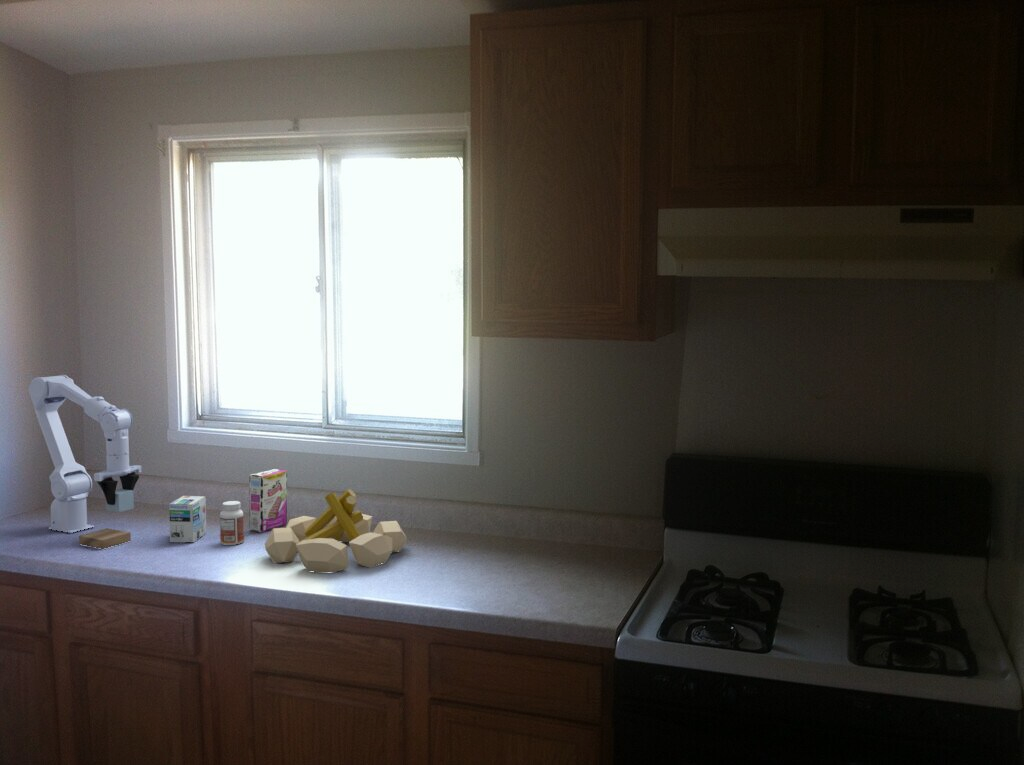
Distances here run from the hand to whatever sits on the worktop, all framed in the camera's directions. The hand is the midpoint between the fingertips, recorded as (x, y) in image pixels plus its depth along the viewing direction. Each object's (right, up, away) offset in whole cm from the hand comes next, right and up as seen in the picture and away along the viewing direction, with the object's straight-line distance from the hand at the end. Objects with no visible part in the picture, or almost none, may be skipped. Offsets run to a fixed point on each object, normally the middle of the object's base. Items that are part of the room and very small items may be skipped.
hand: (119, 502), depth 260 cm
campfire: (+63, -12, -14) cm, 65 cm away
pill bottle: (+33, -11, -4) cm, 35 cm away
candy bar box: (+38, -9, +12) cm, 41 cm away
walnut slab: (-1, -11, -7) cm, 13 cm away
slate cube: (0, -2, 0) cm, 2 cm away
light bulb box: (+19, -10, 0) cm, 22 cm away
